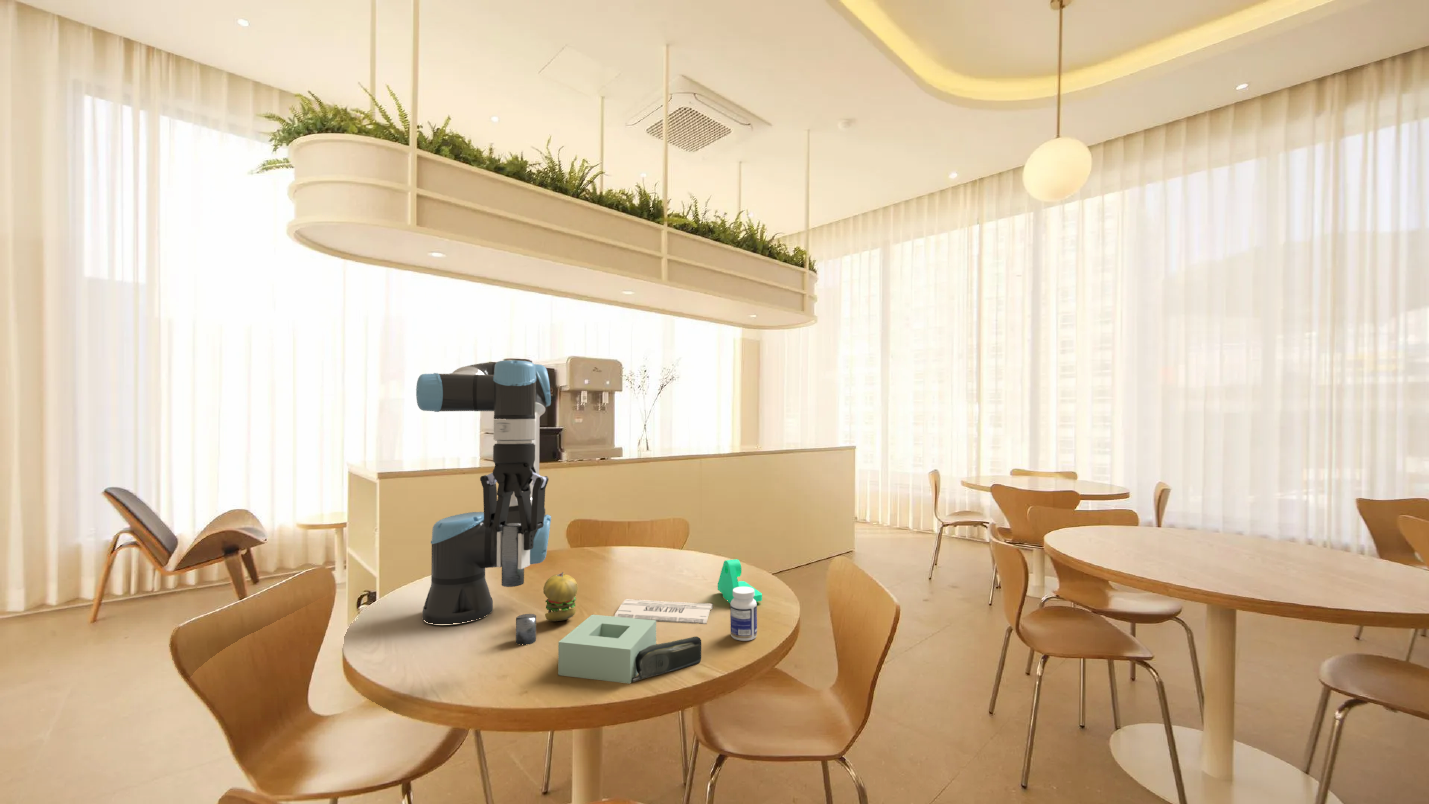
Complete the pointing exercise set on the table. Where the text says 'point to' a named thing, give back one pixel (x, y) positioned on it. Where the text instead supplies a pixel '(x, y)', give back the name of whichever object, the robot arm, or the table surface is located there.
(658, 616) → the newspaper
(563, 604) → the hamburger
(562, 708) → the table surface
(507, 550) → the long pin
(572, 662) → the guide block
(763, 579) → the table surface
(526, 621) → the short pin
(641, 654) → the mobile phone
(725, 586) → the camera mount
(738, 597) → the pill bottle
